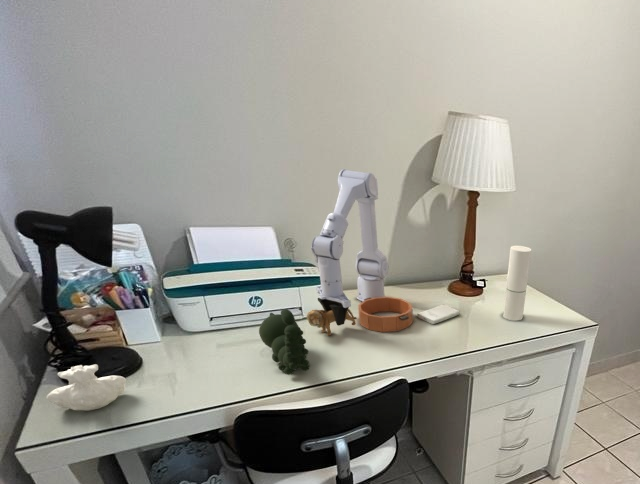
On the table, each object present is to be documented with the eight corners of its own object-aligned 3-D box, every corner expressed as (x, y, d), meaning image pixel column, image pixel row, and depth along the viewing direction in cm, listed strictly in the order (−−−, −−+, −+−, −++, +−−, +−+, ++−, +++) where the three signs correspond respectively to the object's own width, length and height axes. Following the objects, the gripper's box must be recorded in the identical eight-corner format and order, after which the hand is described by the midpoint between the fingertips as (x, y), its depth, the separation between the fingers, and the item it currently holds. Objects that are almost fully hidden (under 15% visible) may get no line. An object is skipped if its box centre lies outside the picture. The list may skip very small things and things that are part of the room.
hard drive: (459, 315, 147) (433, 324, 138) (442, 308, 151) (417, 317, 142) (459, 311, 146) (433, 320, 137) (443, 304, 150) (417, 312, 141)
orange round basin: (346, 317, 136) (344, 303, 133) (387, 305, 148) (387, 292, 145) (384, 338, 126) (383, 323, 124) (425, 323, 138) (425, 310, 136)
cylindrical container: (523, 314, 154) (532, 247, 141) (521, 321, 148) (530, 252, 135) (504, 311, 154) (511, 244, 142) (502, 319, 148) (509, 249, 135)
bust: (61, 424, 85) (43, 405, 76) (48, 392, 86) (29, 370, 77) (136, 403, 92) (127, 384, 84) (123, 374, 93) (114, 352, 85)
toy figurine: (322, 382, 106) (293, 335, 121) (315, 317, 96) (283, 274, 110) (282, 392, 101) (257, 342, 115) (269, 325, 90) (243, 279, 105)
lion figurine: (319, 343, 121) (310, 316, 115) (309, 336, 124) (300, 310, 118) (361, 322, 130) (355, 296, 124) (351, 316, 133) (345, 291, 127)
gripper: (304, 274, 119) (310, 317, 126) (332, 289, 112) (337, 333, 119) (326, 270, 124) (331, 311, 131) (355, 284, 117) (359, 327, 124)
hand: (336, 321), depth 126 cm, fingers closed on lion figurine, 4 cm apart
